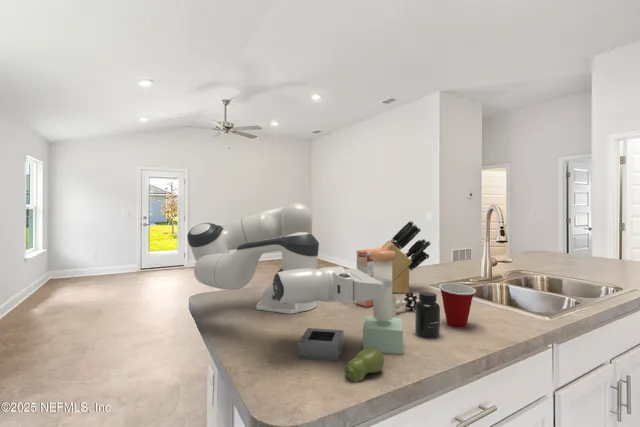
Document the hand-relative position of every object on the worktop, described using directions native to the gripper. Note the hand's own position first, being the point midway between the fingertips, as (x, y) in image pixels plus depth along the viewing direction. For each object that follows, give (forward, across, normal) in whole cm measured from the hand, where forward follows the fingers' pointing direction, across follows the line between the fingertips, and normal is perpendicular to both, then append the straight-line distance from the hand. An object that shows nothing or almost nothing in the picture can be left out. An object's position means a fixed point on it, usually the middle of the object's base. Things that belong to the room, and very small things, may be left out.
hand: (385, 280), depth 92 cm
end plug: (-1, 0, -10) cm, 10 cm away
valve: (+16, -24, -18) cm, 34 cm away
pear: (-11, +14, -18) cm, 25 cm away
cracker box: (+12, -38, -18) cm, 44 cm away
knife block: (+25, -54, -18) cm, 62 cm away
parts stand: (-1, 0, -18) cm, 18 cm away
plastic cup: (+28, -9, -18) cm, 34 cm away
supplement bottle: (+15, -4, -18) cm, 23 cm away
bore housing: (-18, 0, -18) cm, 25 cm away
